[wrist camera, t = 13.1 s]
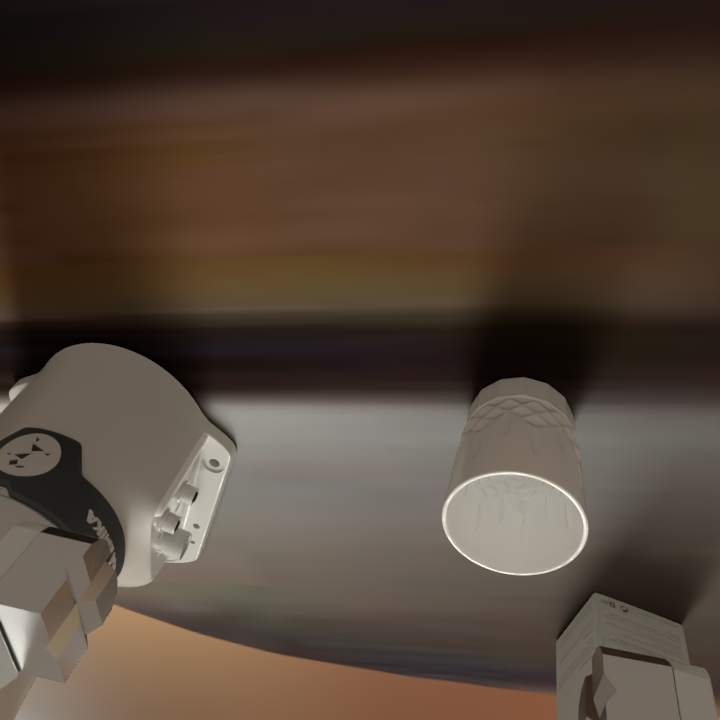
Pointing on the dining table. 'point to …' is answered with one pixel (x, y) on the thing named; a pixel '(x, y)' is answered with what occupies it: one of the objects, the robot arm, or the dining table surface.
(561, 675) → the supplement box
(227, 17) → the dining table surface
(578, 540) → the white cup
